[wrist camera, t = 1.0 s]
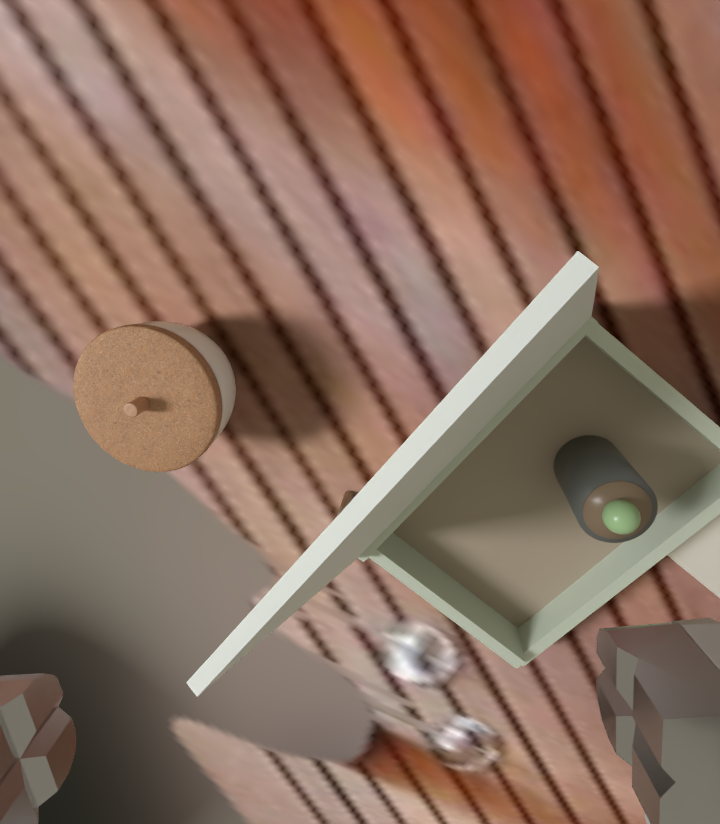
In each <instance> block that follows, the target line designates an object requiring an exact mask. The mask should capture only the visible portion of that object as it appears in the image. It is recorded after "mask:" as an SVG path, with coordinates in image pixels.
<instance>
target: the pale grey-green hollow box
mask: <svg viewBox="0 0 720 824" xmlns="http://www.w3.org/2000/svg"><path fill="white" fill-rule="evenodd" d="M598 271H599V267H598V266H597V265H595V264H594V263H593V262H592V261H590V260H589V259H588V258H587V257H585V256H584V255H583V254H581V253H580V252H579V251H577V252H576V254H575V255H574V256H573V257H572V258H571V259H570V260H569V261H568V262H567V264H566V265H565V266H564V267H563V268H562V269H561V270H560V271H559V272H558V273H557V275H556V276H555V277H554V278H553V279H552V280H551V281H550V282H549V283H548V284H547V286H546V287H545V288H544V289H543V290H542V291H541V292H540V293H539V294H538V295H537V297H536V298H535V299H534V300H533V301H532V302H531V303H530V304H529V305H528V307H527V308H526V309H525V310H524V311H523V312H522V313H521V314H520V315H519V316H518V318H517V319H516V320H515V321H514V322H513V323H512V324H511V325H510V326H509V327H508V329H507V330H506V331H505V332H504V333H503V334H502V335H501V336H500V337H499V338H498V340H497V341H496V342H495V343H494V344H493V345H492V346H491V347H490V348H489V350H488V351H487V352H486V353H485V354H484V355H483V356H482V357H481V358H480V359H479V361H478V362H477V363H476V364H475V365H474V366H473V367H472V368H471V369H470V370H469V372H468V373H467V374H466V375H465V376H464V377H463V378H462V379H461V380H460V381H459V383H458V384H457V385H456V386H455V387H454V388H453V389H452V390H451V391H450V393H449V394H448V395H447V396H446V397H445V398H444V399H443V400H442V401H441V402H440V404H439V405H438V406H437V407H436V408H435V409H434V410H433V411H432V412H431V413H430V415H429V416H428V417H427V418H426V419H425V420H424V421H423V422H422V423H421V424H420V426H419V427H418V428H417V429H416V430H415V431H414V432H413V433H412V434H411V436H410V437H409V438H408V439H407V440H406V441H405V442H404V443H403V444H402V445H401V447H400V448H399V449H398V450H397V451H396V452H395V453H394V454H393V455H392V456H391V458H390V459H389V460H388V461H387V462H386V463H385V464H384V465H383V466H382V467H381V469H380V470H379V471H378V472H377V473H376V474H375V475H374V476H373V477H372V479H371V480H370V481H369V482H368V483H367V484H366V485H365V486H364V487H363V488H362V490H361V491H360V492H359V493H358V494H357V495H356V496H355V497H354V494H353V492H351V491H347V492H345V495H344V498H343V500H342V503H341V506H340V509H339V512H338V514H337V517H336V518H335V519H334V520H333V522H332V523H331V524H330V525H329V526H328V527H327V528H326V529H325V530H324V531H323V533H322V534H321V535H320V536H319V537H318V538H317V539H316V540H315V541H314V542H313V544H312V545H311V546H310V547H309V548H308V549H307V550H306V551H305V552H304V553H303V555H302V556H301V557H300V558H299V559H298V560H297V561H296V562H295V563H294V565H293V566H292V567H291V568H290V569H289V570H288V571H287V572H286V573H285V574H284V576H283V577H282V578H281V579H280V580H279V581H278V582H277V583H276V584H275V585H274V587H273V588H272V589H271V590H270V591H269V592H268V593H267V594H266V595H265V596H264V598H263V599H262V600H261V601H260V602H259V603H258V604H257V605H256V606H255V608H254V609H253V610H252V611H251V612H250V613H249V614H248V615H247V616H246V618H245V619H244V620H243V621H242V622H241V623H240V624H239V625H238V626H237V627H236V629H235V630H234V631H233V632H232V633H231V634H230V635H229V636H228V637H227V639H225V641H224V642H223V643H222V644H221V645H220V646H219V647H218V648H217V649H216V651H215V652H214V653H213V654H212V655H211V656H210V657H209V658H208V659H207V661H206V662H205V663H204V664H203V665H202V666H201V667H200V668H199V669H198V670H197V671H196V673H195V674H194V675H193V676H192V677H191V678H190V679H189V680H188V681H187V682H186V683H187V684H188V686H189V687H190V688H191V690H192V691H193V692H194V693H195V695H196V696H199V695H200V694H201V693H202V692H203V691H204V690H206V689H207V688H208V687H209V686H210V685H211V684H213V683H214V682H215V681H216V680H217V679H218V678H219V677H221V676H222V675H223V674H224V673H225V672H226V671H228V670H229V669H230V668H231V667H232V666H233V665H235V664H236V663H237V662H238V661H239V660H240V659H241V658H242V657H244V656H245V655H246V654H247V653H248V652H249V651H251V650H252V649H253V648H254V647H255V646H256V645H257V644H259V643H260V642H261V641H262V640H263V639H264V638H266V637H267V636H268V635H269V634H270V633H271V632H273V631H274V630H275V629H276V628H277V627H278V626H280V625H281V624H282V623H283V622H284V621H285V620H287V619H288V618H289V617H290V616H291V615H292V614H293V613H295V612H296V611H297V610H298V609H299V608H300V607H302V606H303V605H304V604H305V603H306V602H307V601H308V600H310V599H311V598H312V597H313V596H314V595H315V594H317V593H318V592H319V591H320V590H321V589H322V588H323V587H325V586H326V585H327V584H328V583H329V582H330V581H332V580H333V579H334V578H335V577H336V576H337V575H339V574H340V573H341V572H342V571H343V570H344V569H345V568H347V567H348V566H349V565H350V564H351V563H352V562H354V561H355V560H356V559H357V558H359V559H360V560H361V561H363V562H364V561H365V560H366V559H367V558H368V557H369V558H370V559H372V560H373V561H374V562H376V563H377V564H378V565H380V566H381V567H382V568H383V569H385V570H386V571H387V572H389V573H390V574H391V575H393V576H394V577H395V578H397V579H398V580H399V581H401V582H402V583H403V584H405V585H406V586H407V587H409V588H410V589H411V590H413V591H414V592H415V593H417V594H418V595H419V596H421V597H422V598H423V599H425V600H426V601H427V602H429V603H430V604H431V605H433V606H434V607H435V608H437V609H438V610H439V611H441V612H442V613H443V614H444V615H446V616H447V617H448V618H450V619H451V620H452V621H454V622H455V623H456V624H458V625H459V626H460V627H462V628H463V629H464V630H466V631H467V632H468V633H470V634H471V635H472V636H474V637H475V638H476V639H478V640H479V641H480V642H482V643H483V644H484V645H486V646H487V647H488V648H490V649H491V650H492V651H494V652H495V653H496V654H498V655H499V656H500V657H501V658H503V659H504V660H505V661H507V662H508V663H509V664H511V665H512V666H513V667H515V668H516V669H517V668H518V667H520V666H521V665H523V666H525V665H526V664H527V663H529V662H530V661H531V660H533V659H534V658H535V657H536V656H538V655H539V654H540V653H542V652H543V651H544V650H545V649H547V648H548V647H549V646H551V645H552V644H553V643H554V642H556V641H557V640H558V639H560V638H561V637H562V636H564V635H565V634H566V633H567V632H569V631H570V630H571V629H573V628H574V627H575V626H576V625H578V624H579V623H580V622H582V621H583V620H584V619H585V618H587V617H588V616H589V615H591V614H592V613H593V612H594V611H596V610H597V609H598V608H600V607H601V606H602V605H603V604H605V603H606V602H607V601H609V600H610V599H611V598H612V597H614V596H615V595H616V594H618V593H619V592H620V591H621V590H623V589H624V588H625V587H627V586H628V585H629V584H630V583H632V582H633V581H634V580H636V579H637V578H638V577H639V576H641V575H642V574H643V573H645V572H646V571H647V570H648V569H650V568H651V567H652V566H654V565H655V564H656V563H657V562H659V561H660V560H661V559H663V558H664V557H665V556H666V555H668V554H669V553H670V552H672V551H673V550H674V549H675V548H677V547H678V546H679V545H681V544H682V543H683V542H684V541H686V540H687V539H688V538H690V537H691V536H692V535H693V534H695V533H696V532H697V531H699V530H700V529H701V528H702V527H704V526H705V525H706V524H708V523H709V522H710V521H711V520H713V519H714V518H715V517H717V516H718V515H719V514H720V427H719V426H718V425H716V424H715V423H714V422H713V421H712V420H711V419H709V418H708V417H707V416H706V415H705V414H704V413H702V412H701V411H700V410H699V409H698V408H697V407H695V406H694V405H693V404H692V403H691V402H690V401H688V400H687V399H686V398H685V397H684V396H683V395H681V394H680V393H679V392H678V391H677V390H676V389H674V388H673V387H672V386H671V385H670V384H668V383H667V382H666V381H665V380H664V379H663V378H661V377H660V376H659V375H658V374H657V373H656V372H654V371H653V370H652V369H651V368H650V367H649V366H647V365H646V364H645V363H644V362H643V361H642V360H640V359H639V358H638V357H637V356H636V355H635V354H633V353H632V352H631V351H630V350H629V349H628V348H626V347H625V346H624V345H623V344H622V343H620V342H619V341H618V340H617V339H616V338H615V337H613V336H612V335H611V334H610V333H609V332H608V331H606V330H605V329H604V328H603V327H602V326H601V325H599V324H598V321H596V320H595V319H594V318H593V317H592V310H593V303H594V297H595V290H596V284H597V277H598ZM586 435H594V436H599V437H603V438H605V439H607V440H609V441H610V442H611V443H613V444H614V445H615V446H616V448H617V449H618V450H619V451H620V452H621V453H622V455H623V456H624V457H625V458H626V459H627V461H628V462H629V463H630V464H631V465H632V466H633V468H634V469H635V470H636V471H637V472H638V473H639V475H640V476H641V477H642V478H643V479H644V480H645V482H646V483H647V484H648V485H649V486H650V488H651V489H652V490H653V492H654V493H655V495H656V498H657V502H658V510H657V515H656V518H655V520H654V522H653V523H652V525H651V526H650V527H649V529H648V530H647V531H645V532H644V533H643V534H642V535H640V536H638V537H637V538H634V539H632V540H629V541H626V542H621V543H608V542H603V541H599V540H596V539H594V538H592V537H591V536H589V535H588V534H587V533H586V532H584V530H583V529H582V528H581V526H580V525H579V523H578V521H577V519H576V517H575V515H574V513H573V511H572V509H571V507H570V505H569V503H568V501H567V499H566V497H565V495H564V493H563V491H562V489H561V487H560V485H559V483H558V481H557V479H556V476H555V473H554V460H555V457H556V455H557V453H558V451H559V450H560V448H561V447H562V446H563V445H564V444H566V443H567V442H568V441H570V440H572V439H574V438H577V437H580V436H586ZM353 497H354V498H353Z"/></svg>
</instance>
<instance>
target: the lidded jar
mask: <svg viewBox="0 0 720 824" xmlns="http://www.w3.org/2000/svg"><path fill="white" fill-rule="evenodd" d="M73 391H74V397H75V403H76V406H77V410H78V413H79V415H80V417H81V420H82V422H83V424H84V426H85V427H86V429H87V431H88V432H89V434H90V435H91V436H92V438H93V439H94V440H95V441H96V442H97V443H98V444H99V445H100V446H101V447H102V448H103V449H104V450H105V451H106V452H107V453H109V454H110V455H111V456H113V457H114V458H116V459H117V460H119V461H121V462H123V463H124V464H127V465H130V466H132V467H134V468H138V469H142V470H146V471H154V472H166V471H172V470H177V469H180V468H182V467H185V466H187V465H189V464H190V463H192V462H194V461H195V460H197V459H198V458H199V457H200V456H201V455H202V454H203V453H204V452H205V451H206V450H207V449H208V448H209V446H210V445H211V444H212V443H213V442H214V441H215V439H216V438H217V437H218V436H219V435H220V433H221V432H222V431H223V429H224V428H225V426H226V424H227V422H228V420H229V418H230V416H231V414H232V411H233V408H234V404H235V398H236V382H235V377H234V373H233V370H232V367H231V364H230V362H229V360H228V358H227V356H226V355H225V354H224V352H223V351H222V349H221V348H220V347H219V346H218V345H217V344H216V343H215V342H214V341H213V340H212V339H210V338H209V337H208V336H207V335H205V334H203V333H202V332H200V331H198V330H197V329H194V328H192V327H190V326H187V325H183V324H179V323H174V322H165V321H154V322H143V323H138V324H132V325H124V326H121V327H117V328H113V329H110V330H108V331H106V332H104V333H102V334H100V335H99V336H97V337H96V338H95V339H94V340H92V341H91V342H90V343H89V345H88V346H87V347H86V348H85V349H84V351H83V353H82V354H81V356H80V358H79V360H78V363H77V366H76V369H75V375H74V389H73Z"/></svg>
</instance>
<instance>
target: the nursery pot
mask: <svg viewBox="0 0 720 824" xmlns="http://www.w3.org/2000/svg"><path fill="white" fill-rule="evenodd" d="M554 473H555V476H556V479H557V481H558V483H559V485H560V487H561V489H562V491H563V493H564V495H565V497H566V499H567V501H568V503H569V505H570V507H571V509H572V511H573V513H574V515H575V517H576V519H577V521H578V523H579V525H580V526H581V528H582V529H583V530H584V532H586V533H587V534H588V535H589V536H591V537H592V538H594V539H596V540H599V541H603V542H608V543H621V542H626V541H629V540H632V539H634V538H637V537H638V536H640V535H642V534H643V533H644V532H645V531H647V530H648V529H649V527H650V526H651V525H652V523H653V522H654V520H655V518H656V515H657V510H658V502H657V498H656V495H655V493H654V492H653V490H652V489H651V488H650V486H649V485H648V484H647V483H646V482H645V480H644V479H643V478H642V477H641V476H640V475H639V473H638V472H637V471H636V470H635V469H634V468H633V466H632V465H631V464H630V463H629V462H628V461H627V459H626V458H625V457H624V456H623V455H622V453H621V452H620V451H619V450H618V449H617V448H616V446H615V445H614V444H613V443H611V442H610V441H609V440H607V439H605V438H603V437H599V436H594V435H586V436H580V437H577V438H574V439H572V440H570V441H568V442H567V443H566V444H564V445H563V446H562V447H561V448H560V450H559V451H558V453H557V455H556V457H555V460H554Z"/></svg>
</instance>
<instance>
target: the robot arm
mask: <svg viewBox="0 0 720 824" xmlns="http://www.w3.org/2000/svg"><path fill="white" fill-rule="evenodd" d="M596 653H597V655H598V656H599V658H600V660H601V662H602V664H603V665H604V667H605V669H604V670H603V671H602V673H601V674H600V675H599V676H598V678H597V699H598V704H599V708H600V713H601V718H602V722H603V724H604V727H605V730H606V733H607V735H608V738H609V740H610V742H611V744H612V746H613V748H614V751H615V753H616V755H618V756H619V757H620V758H622V759H623V760H624V761H626V762H627V763H628V764H630V765H631V766H632V788H633V790H634V792H635V794H636V796H637V798H638V800H639V802H640V804H641V806H642V808H643V810H644V812H645V814H646V816H647V818H648V820H649V822H650V824H720V623H719V622H718V621H716V620H714V619H712V618H701V619H691V620H682V621H673V622H672V623H660V624H648V625H637V626H626V627H614V628H603V629H599V631H598V635H597V649H596ZM62 696H63V692H62V690H61V687H60V685H59V683H58V680H57V677H56V676H52V675H49V674H28V675H9V676H0V824H38V807H39V805H41V804H42V803H43V802H45V801H46V800H47V799H48V798H49V797H51V796H52V795H53V794H54V793H56V792H57V791H58V789H59V788H60V786H61V785H62V783H63V781H64V779H65V778H66V776H67V774H68V773H69V771H70V768H71V764H72V760H73V757H74V753H75V750H76V731H75V728H74V725H73V721H72V719H71V717H70V716H68V715H67V714H66V713H65V712H64V711H62V710H61V709H60V708H59V707H58V705H59V703H60V701H61V698H62Z"/></svg>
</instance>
